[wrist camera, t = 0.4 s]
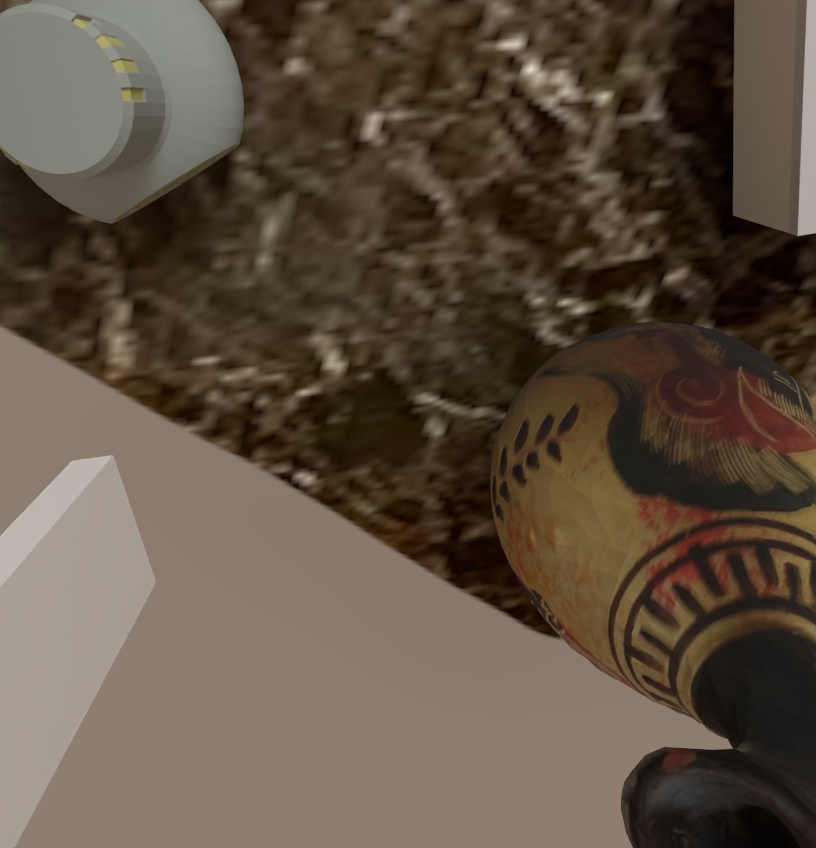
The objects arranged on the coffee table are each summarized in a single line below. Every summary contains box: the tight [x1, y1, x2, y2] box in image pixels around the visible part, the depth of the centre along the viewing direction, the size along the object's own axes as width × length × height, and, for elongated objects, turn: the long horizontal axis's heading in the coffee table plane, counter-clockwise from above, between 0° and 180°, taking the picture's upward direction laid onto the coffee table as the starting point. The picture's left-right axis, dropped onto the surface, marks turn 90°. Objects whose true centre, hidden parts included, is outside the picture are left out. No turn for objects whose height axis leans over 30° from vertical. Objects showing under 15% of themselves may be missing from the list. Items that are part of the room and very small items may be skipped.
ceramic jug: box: [490, 322, 816, 848], centre depth 28 cm, size 17×15×30 cm
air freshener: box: [0, 0, 244, 224], centre depth 31 cm, size 11×8×10 cm
